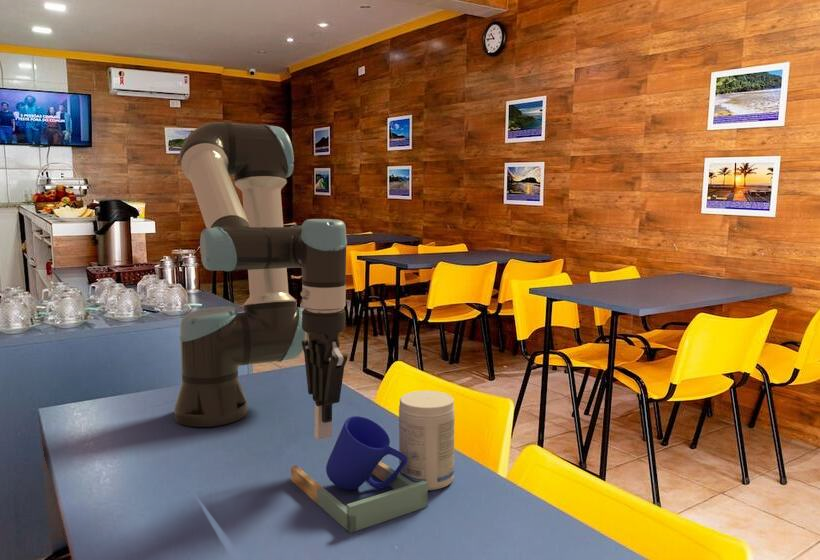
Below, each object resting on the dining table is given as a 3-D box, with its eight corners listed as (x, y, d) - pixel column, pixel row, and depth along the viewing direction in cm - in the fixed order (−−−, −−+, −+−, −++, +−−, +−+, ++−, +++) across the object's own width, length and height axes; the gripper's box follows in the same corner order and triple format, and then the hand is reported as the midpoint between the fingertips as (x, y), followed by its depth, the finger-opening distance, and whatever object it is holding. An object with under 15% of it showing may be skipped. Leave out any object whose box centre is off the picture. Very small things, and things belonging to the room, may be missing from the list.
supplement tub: (444, 465, 114) (445, 388, 112) (461, 489, 105) (463, 405, 103) (392, 471, 112) (393, 391, 110) (405, 495, 103) (406, 409, 101)
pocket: (317, 503, 99) (317, 480, 99) (390, 481, 107) (391, 459, 107) (350, 533, 91) (350, 507, 90) (427, 506, 99) (427, 482, 98)
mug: (379, 515, 101) (407, 468, 98) (313, 480, 101) (339, 432, 98) (387, 486, 109) (413, 442, 106) (327, 453, 109) (351, 409, 106)
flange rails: (291, 480, 107) (290, 466, 107) (361, 461, 115) (361, 448, 115) (317, 503, 99) (317, 489, 99) (390, 481, 107) (390, 468, 107)
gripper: (288, 303, 112) (288, 428, 115) (321, 317, 101) (321, 455, 105) (325, 300, 116) (325, 420, 120) (361, 313, 105) (359, 445, 109)
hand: (323, 436), depth 112 cm, fingers closed
